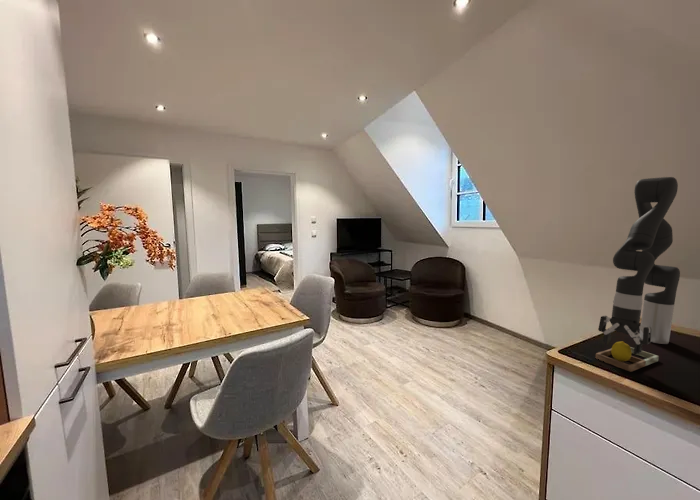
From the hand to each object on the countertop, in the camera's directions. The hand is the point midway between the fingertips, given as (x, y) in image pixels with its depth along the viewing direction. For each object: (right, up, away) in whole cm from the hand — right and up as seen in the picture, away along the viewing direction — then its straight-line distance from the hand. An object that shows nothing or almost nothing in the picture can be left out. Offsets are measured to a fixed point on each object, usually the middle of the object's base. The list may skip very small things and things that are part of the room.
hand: (621, 348), depth 109 cm
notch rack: (+5, -5, +3) cm, 7 cm away
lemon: (0, -5, +1) cm, 5 cm away
